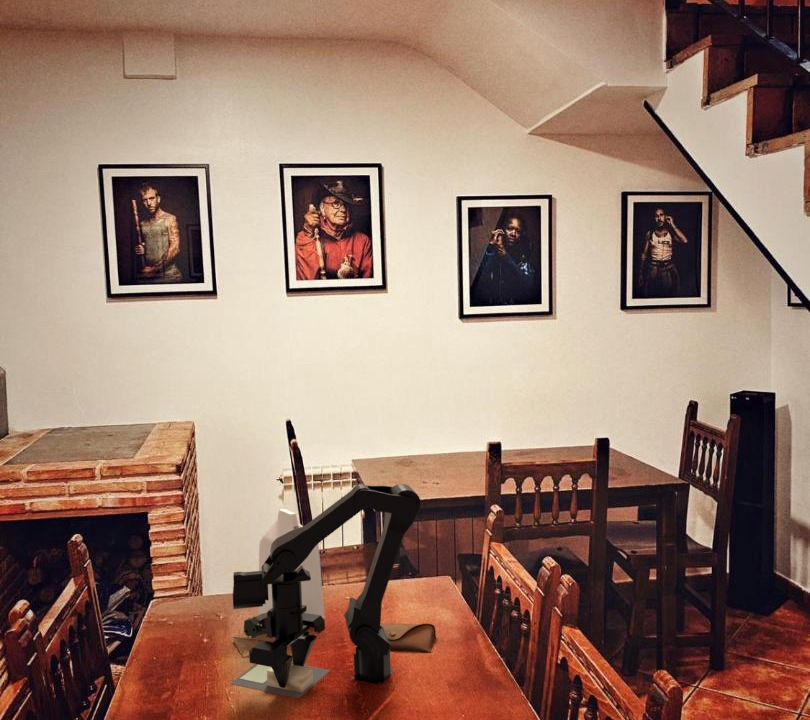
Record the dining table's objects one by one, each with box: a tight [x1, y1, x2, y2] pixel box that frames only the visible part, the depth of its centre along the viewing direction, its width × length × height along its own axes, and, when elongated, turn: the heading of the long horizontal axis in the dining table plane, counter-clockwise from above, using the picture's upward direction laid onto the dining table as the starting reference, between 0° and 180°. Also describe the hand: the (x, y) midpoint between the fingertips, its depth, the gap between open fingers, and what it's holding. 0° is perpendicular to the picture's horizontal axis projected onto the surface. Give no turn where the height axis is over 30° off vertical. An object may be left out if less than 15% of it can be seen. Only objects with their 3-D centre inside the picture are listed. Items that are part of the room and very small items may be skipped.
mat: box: [229, 662, 331, 699], centre depth 153 cm, size 16×12×1 cm
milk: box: [257, 508, 325, 620], centre depth 184 cm, size 12×12×26 cm
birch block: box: [267, 664, 313, 693], centre depth 150 cm, size 8×4×3 cm, turn 66°
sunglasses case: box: [354, 622, 437, 653], centre depth 169 cm, size 18×7×7 cm
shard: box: [232, 636, 263, 658], centre depth 169 cm, size 11×8×2 cm
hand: (290, 680), depth 150 cm, fingers open, 5 cm apart
